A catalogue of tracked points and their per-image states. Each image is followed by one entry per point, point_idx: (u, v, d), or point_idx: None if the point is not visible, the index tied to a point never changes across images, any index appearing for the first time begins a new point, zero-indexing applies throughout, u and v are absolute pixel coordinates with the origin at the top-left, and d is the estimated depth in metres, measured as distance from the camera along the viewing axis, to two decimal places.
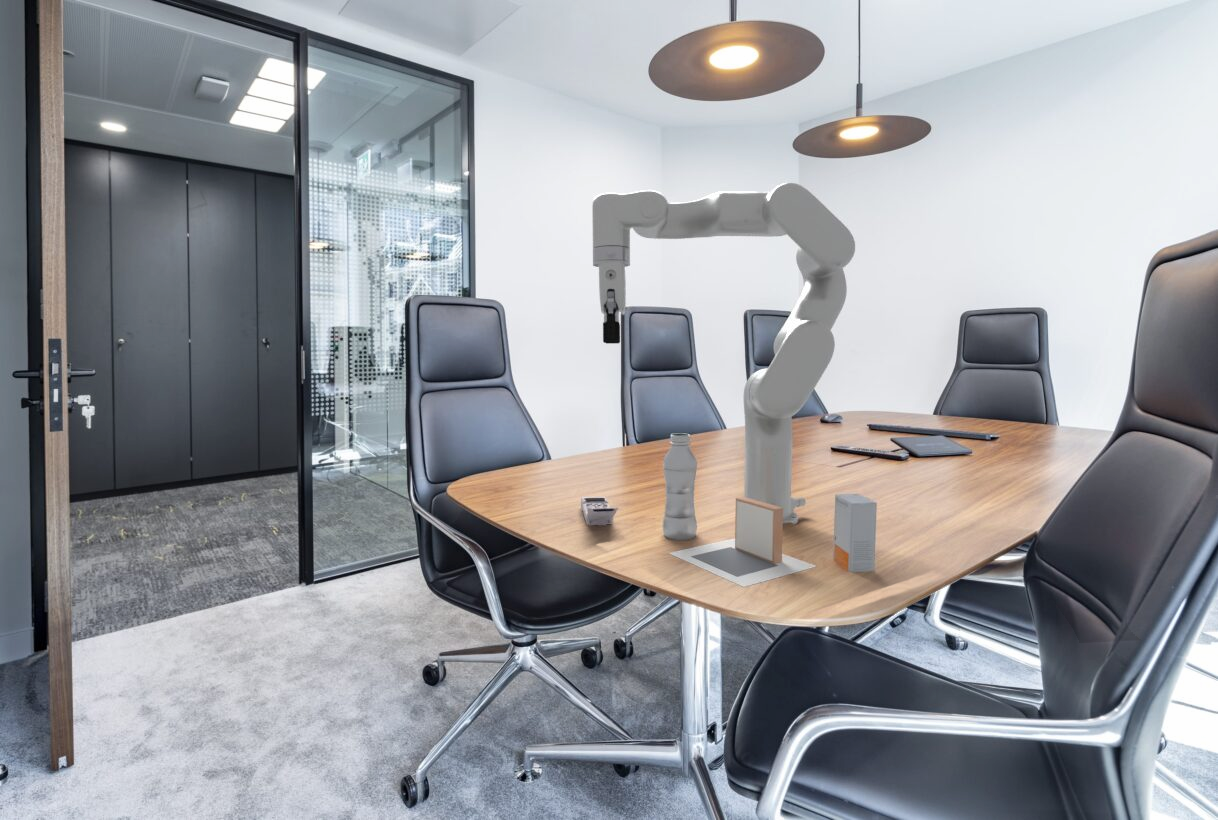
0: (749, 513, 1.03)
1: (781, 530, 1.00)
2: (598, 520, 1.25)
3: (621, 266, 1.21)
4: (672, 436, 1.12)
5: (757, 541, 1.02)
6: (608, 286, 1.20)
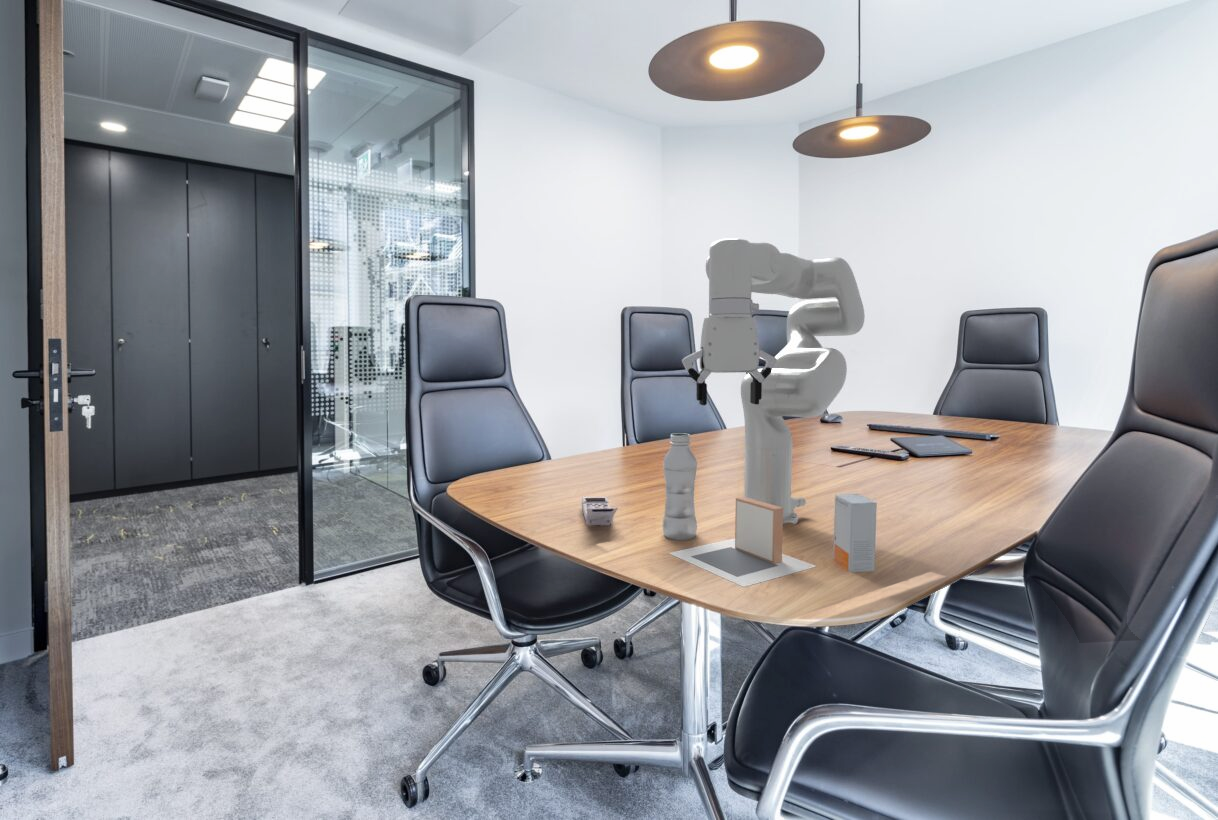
0: (749, 513, 1.03)
1: (781, 530, 1.00)
2: (598, 520, 1.25)
3: None
4: (672, 436, 1.12)
5: (757, 541, 1.02)
6: None
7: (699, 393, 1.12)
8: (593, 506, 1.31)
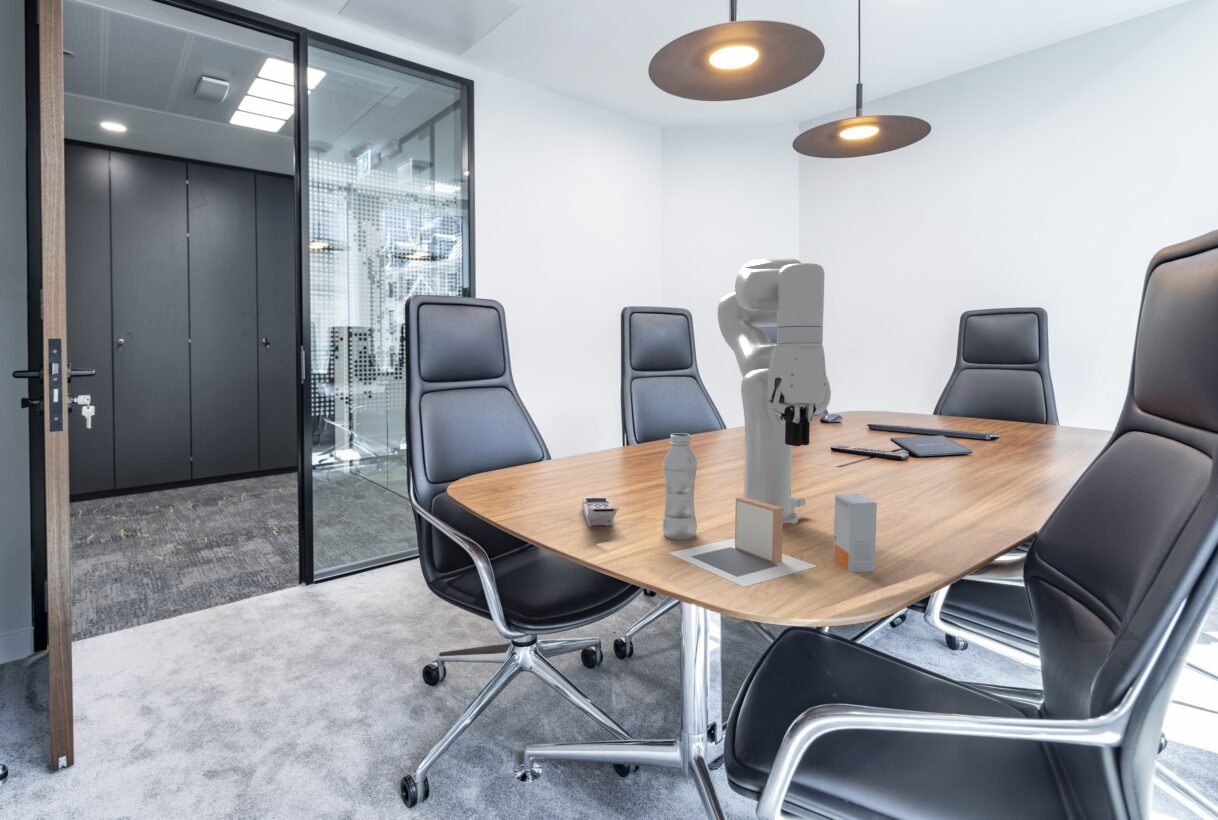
0: (749, 513, 1.03)
1: (781, 530, 1.00)
2: (598, 520, 1.25)
3: None
4: (672, 436, 1.12)
5: (757, 541, 1.02)
6: None
7: (794, 433, 1.05)
8: (594, 506, 1.31)
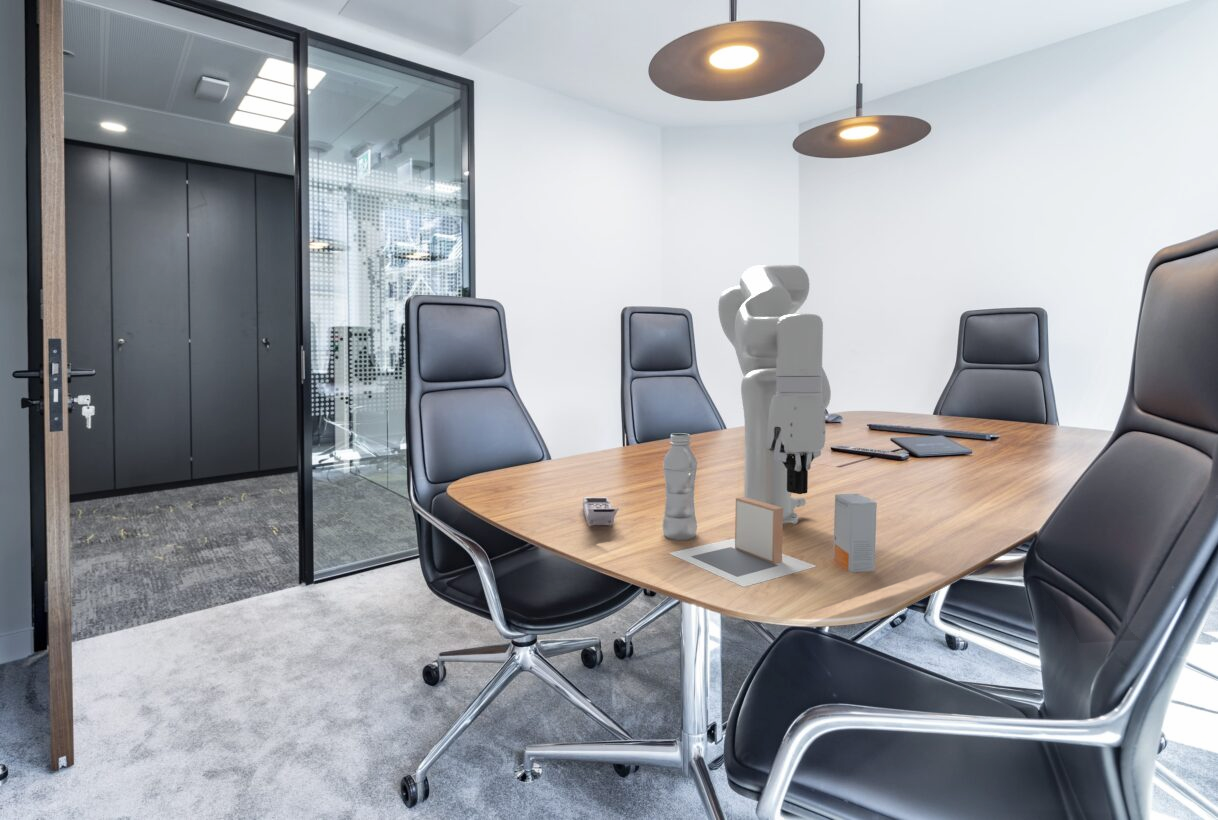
0: (749, 513, 1.03)
1: (781, 530, 1.00)
2: (599, 520, 1.25)
3: None
4: (672, 436, 1.12)
5: (757, 541, 1.02)
6: None
7: (795, 481, 1.05)
8: (594, 506, 1.31)
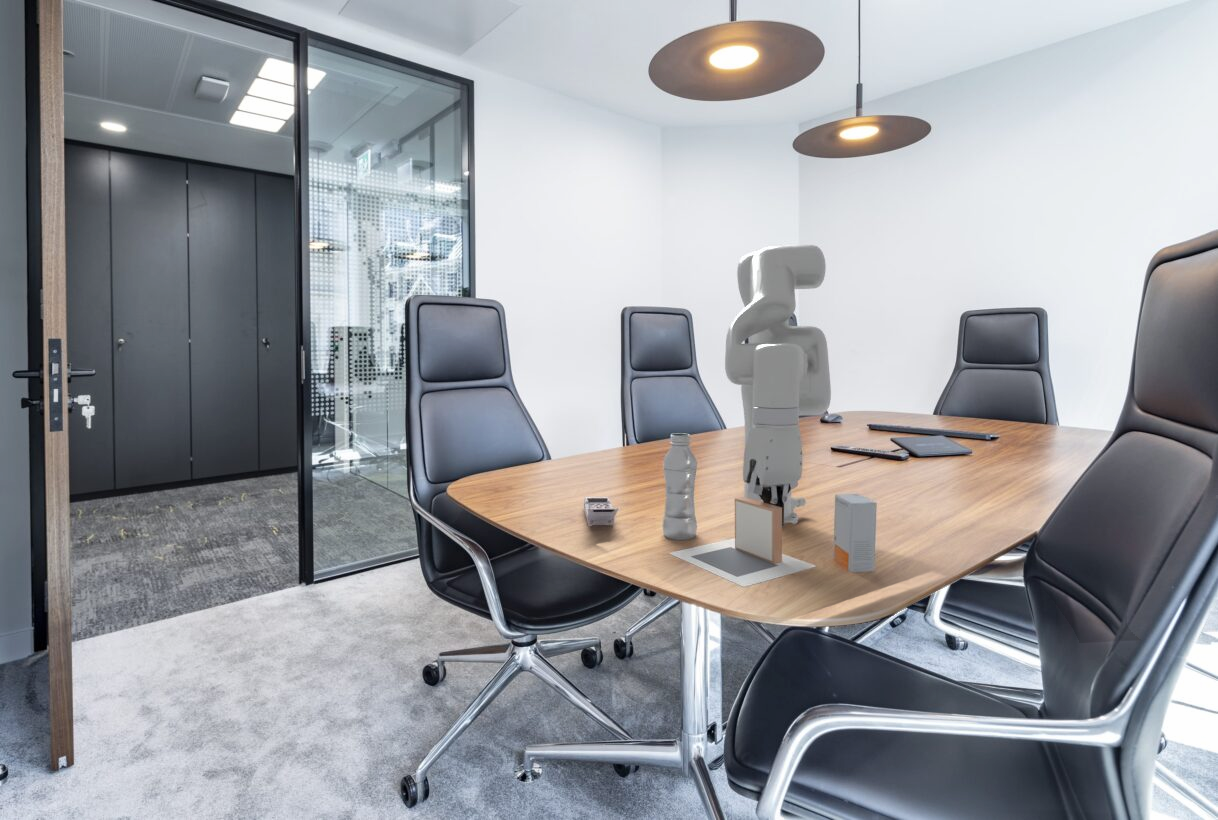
0: (748, 513, 1.03)
1: (780, 530, 1.00)
2: (599, 520, 1.25)
3: None
4: (672, 436, 1.12)
5: (757, 541, 1.02)
6: None
7: None
8: (595, 506, 1.31)
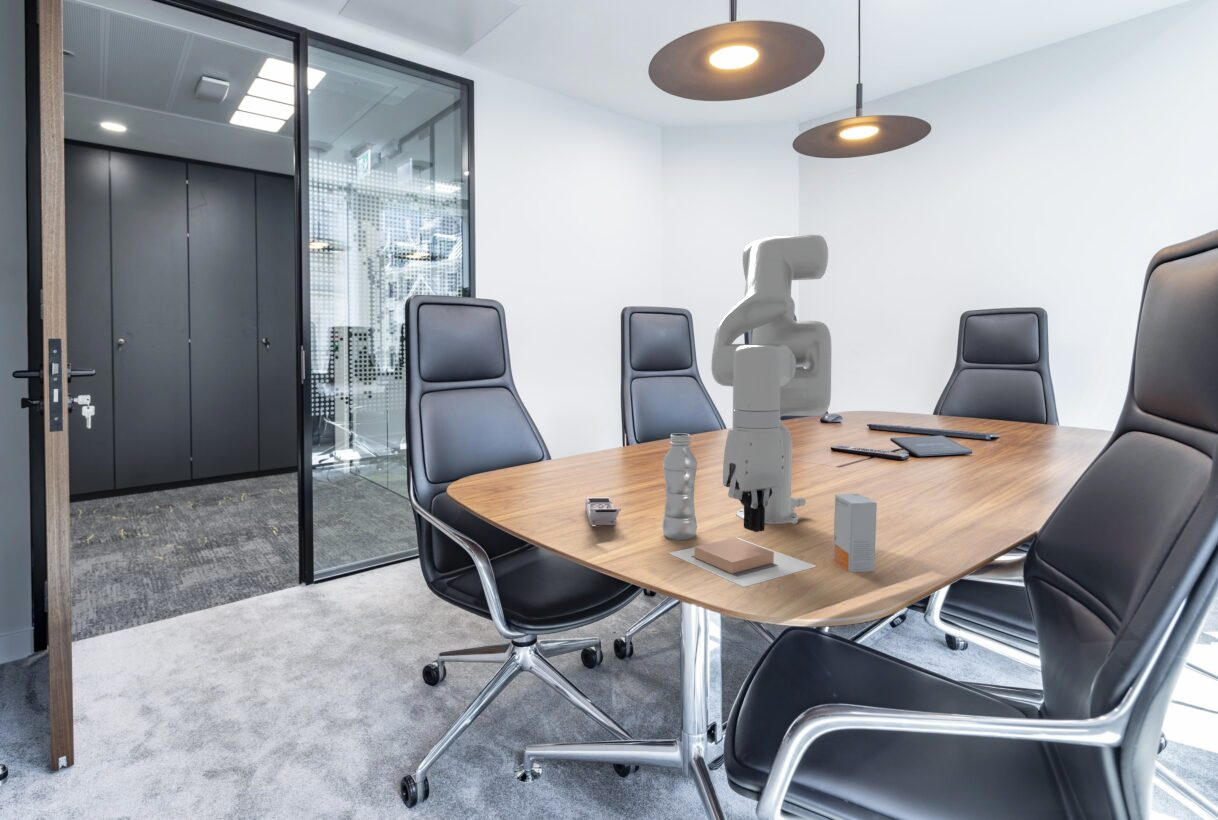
0: None
1: (750, 559, 0.96)
2: (601, 521, 1.25)
3: None
4: (672, 436, 1.12)
5: None
6: None
7: (752, 519, 1.01)
8: (597, 506, 1.31)
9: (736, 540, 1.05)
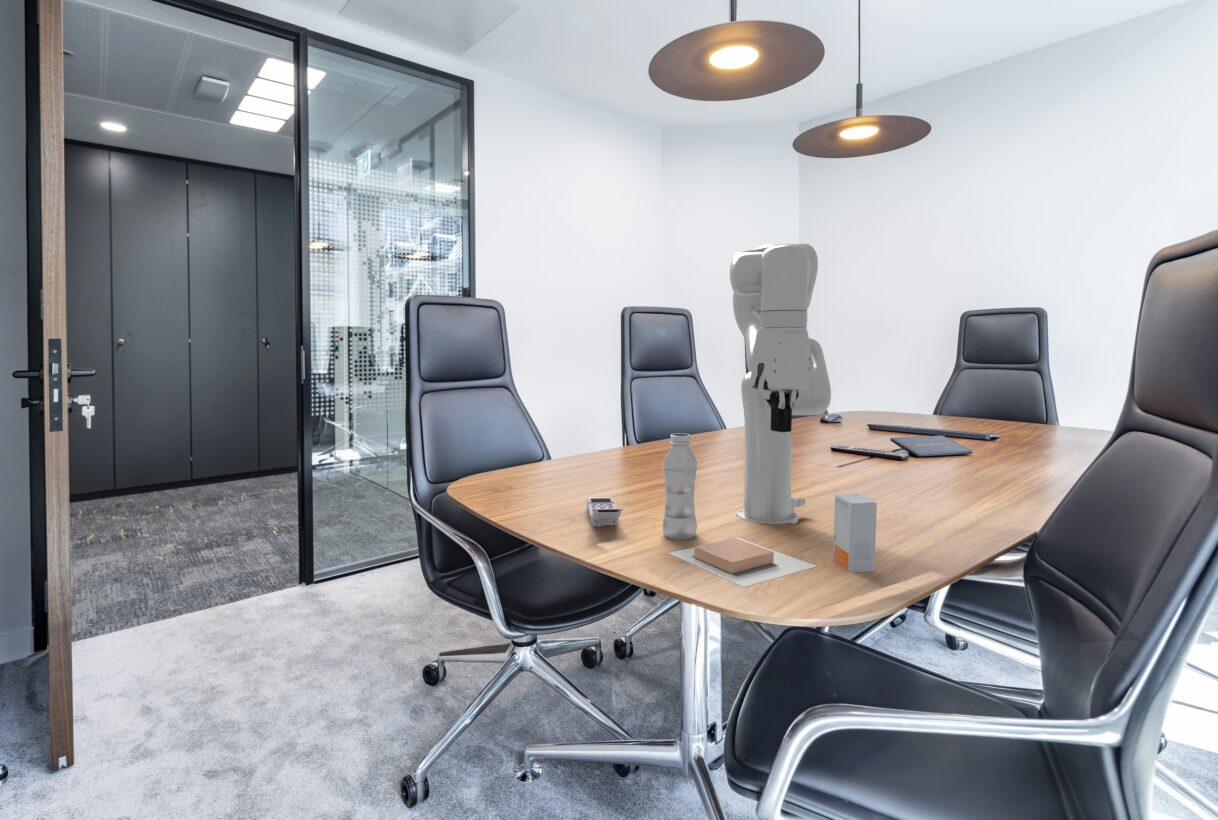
0: None
1: (750, 559, 0.96)
2: (603, 521, 1.25)
3: None
4: (672, 436, 1.12)
5: None
6: None
7: (779, 420, 1.03)
8: (598, 506, 1.31)
9: (736, 540, 1.05)
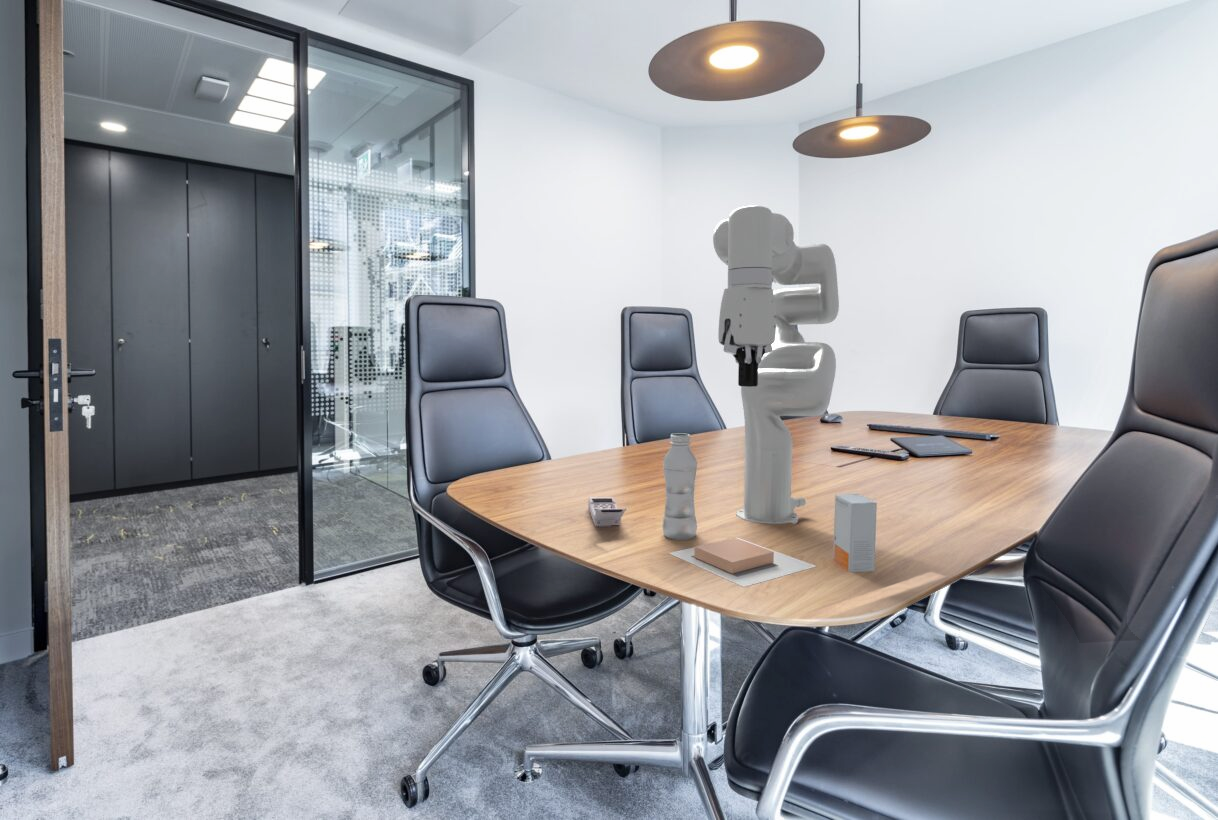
0: None
1: (750, 559, 0.96)
2: (605, 521, 1.25)
3: None
4: (672, 436, 1.12)
5: None
6: None
7: (746, 374, 1.08)
8: (600, 507, 1.31)
9: (736, 540, 1.05)
